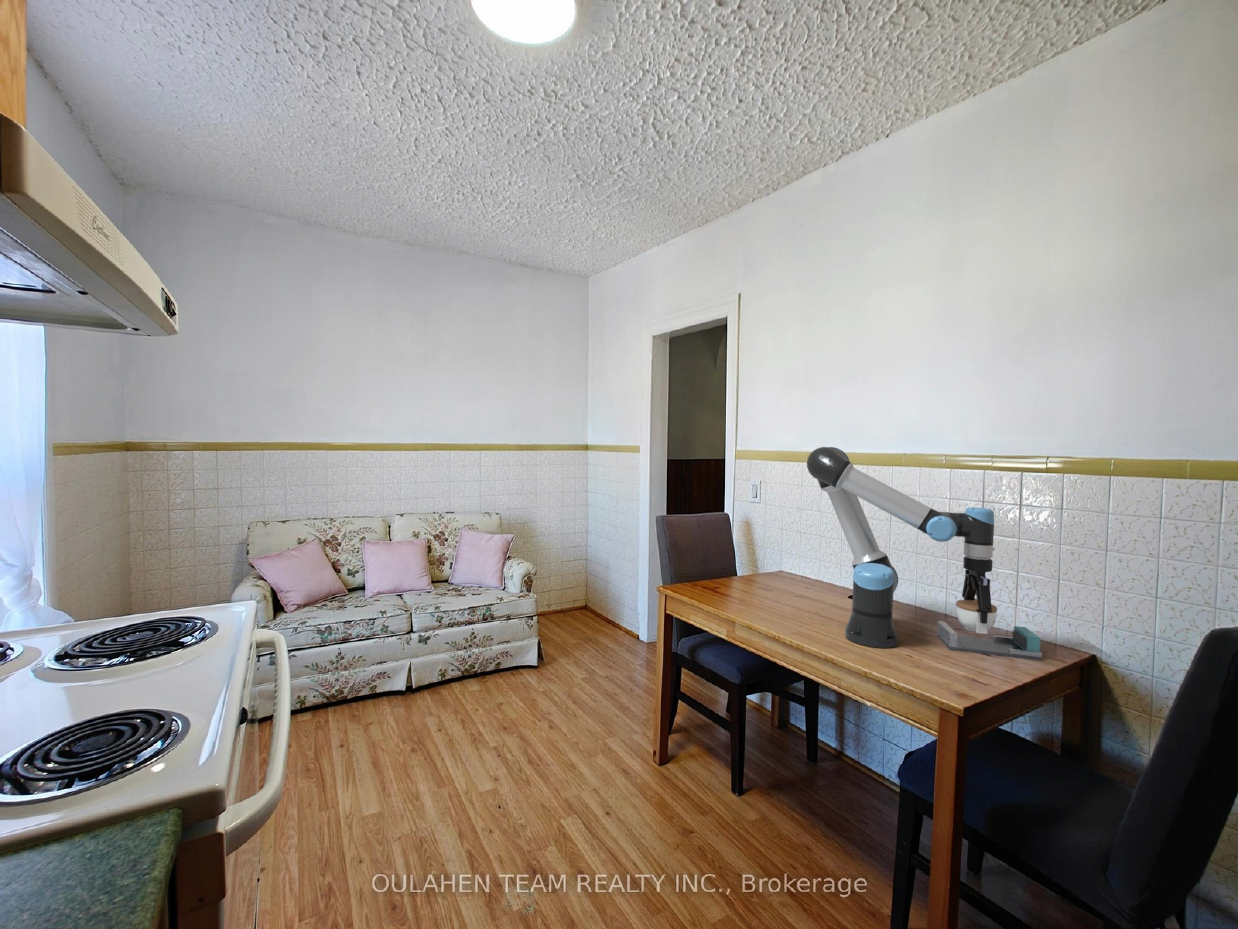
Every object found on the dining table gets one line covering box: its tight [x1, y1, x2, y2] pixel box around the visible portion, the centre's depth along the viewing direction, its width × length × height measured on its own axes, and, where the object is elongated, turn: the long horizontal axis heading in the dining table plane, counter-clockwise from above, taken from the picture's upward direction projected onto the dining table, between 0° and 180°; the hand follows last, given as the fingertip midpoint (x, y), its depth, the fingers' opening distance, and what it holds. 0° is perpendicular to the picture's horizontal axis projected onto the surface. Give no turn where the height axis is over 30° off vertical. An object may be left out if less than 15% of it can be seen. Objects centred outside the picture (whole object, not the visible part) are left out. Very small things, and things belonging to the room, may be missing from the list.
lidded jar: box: [955, 598, 998, 633], centre depth 169 cm, size 11×11×9 cm
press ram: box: [1012, 625, 1041, 652], centre depth 166 cm, size 4×10×5 cm, turn 164°
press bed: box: [936, 620, 1043, 661], centre depth 169 cm, size 24×13×5 cm, turn 74°
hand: (975, 627), depth 169 cm, fingers closed on lidded jar, 11 cm apart
